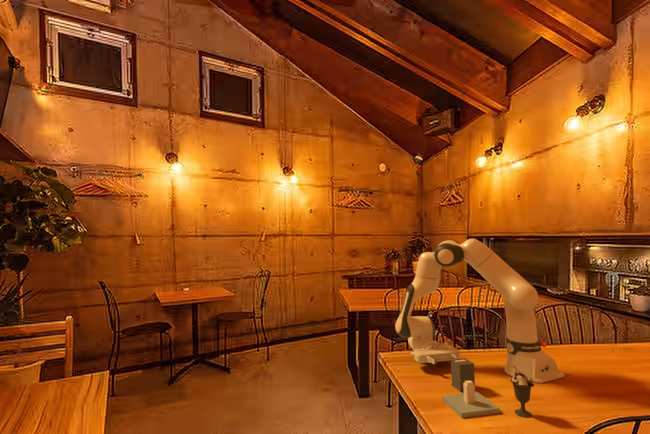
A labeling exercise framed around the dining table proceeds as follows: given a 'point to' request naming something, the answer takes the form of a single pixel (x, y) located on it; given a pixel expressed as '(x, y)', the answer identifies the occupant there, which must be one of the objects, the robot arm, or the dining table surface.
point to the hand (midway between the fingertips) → (445, 361)
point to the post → (470, 402)
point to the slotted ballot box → (461, 372)
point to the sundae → (522, 392)
